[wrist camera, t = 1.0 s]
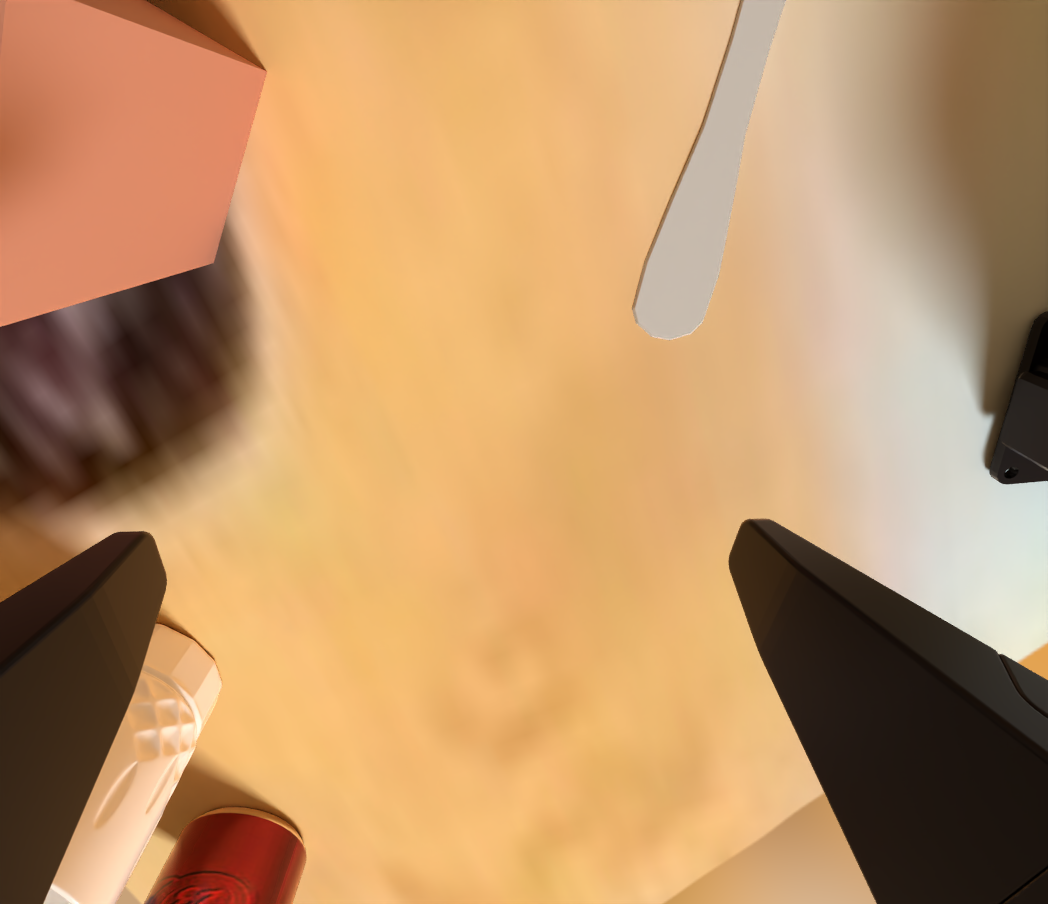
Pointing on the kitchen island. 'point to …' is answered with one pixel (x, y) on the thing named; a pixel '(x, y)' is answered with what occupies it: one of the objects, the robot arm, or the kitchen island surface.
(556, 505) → the kitchen island surface
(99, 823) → the white cup
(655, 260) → the butter knife
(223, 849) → the soda can
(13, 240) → the terracotta block
